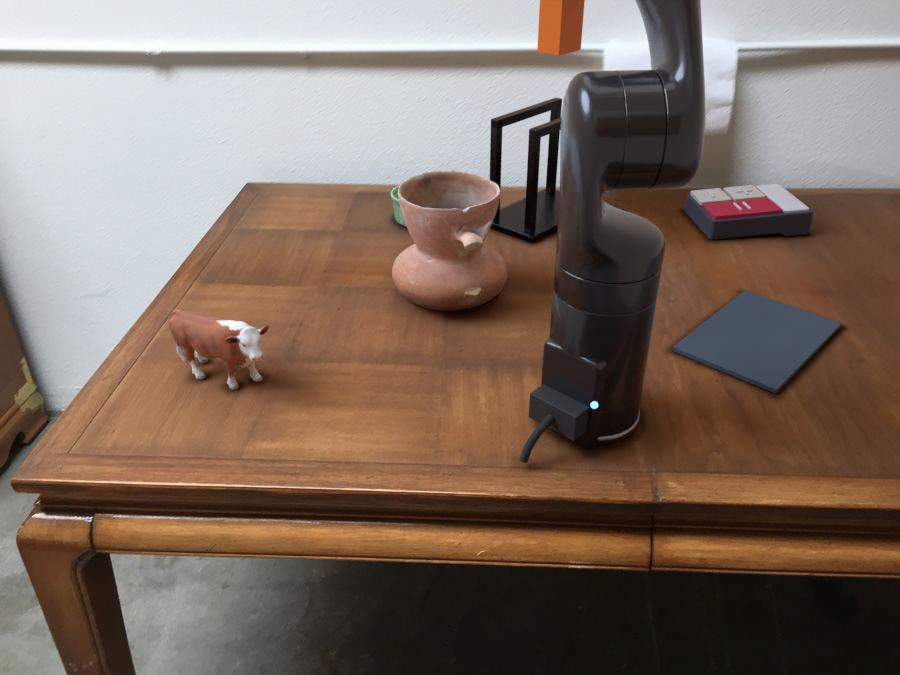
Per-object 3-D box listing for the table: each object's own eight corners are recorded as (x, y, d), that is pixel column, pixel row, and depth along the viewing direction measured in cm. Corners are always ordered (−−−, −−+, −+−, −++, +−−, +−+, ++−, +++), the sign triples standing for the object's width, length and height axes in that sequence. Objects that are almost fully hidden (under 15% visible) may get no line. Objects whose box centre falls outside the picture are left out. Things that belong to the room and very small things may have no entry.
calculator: (685, 188, 118) (780, 179, 119) (682, 214, 120) (775, 205, 121) (713, 216, 109) (815, 206, 110) (709, 244, 111) (809, 234, 112)
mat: (775, 394, 79) (777, 389, 79) (671, 351, 86) (672, 346, 86) (840, 327, 90) (842, 323, 90) (744, 293, 97) (744, 289, 97)
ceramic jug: (529, 315, 93) (535, 205, 86) (415, 337, 89) (411, 224, 82) (475, 253, 108) (476, 155, 100) (375, 270, 103) (368, 169, 96)
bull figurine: (260, 409, 78) (249, 341, 73) (170, 370, 84) (154, 305, 79) (290, 387, 81) (280, 321, 76) (200, 351, 87) (187, 288, 83)
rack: (531, 243, 110) (537, 133, 102) (479, 224, 116) (481, 119, 108) (598, 209, 121) (609, 107, 112) (547, 193, 127) (554, 94, 118)
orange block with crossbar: (579, 59, 99) (587, -46, 93) (518, 48, 105) (522, -51, 99) (600, 53, 102) (610, -49, 96) (540, 43, 108) (545, -54, 102)
